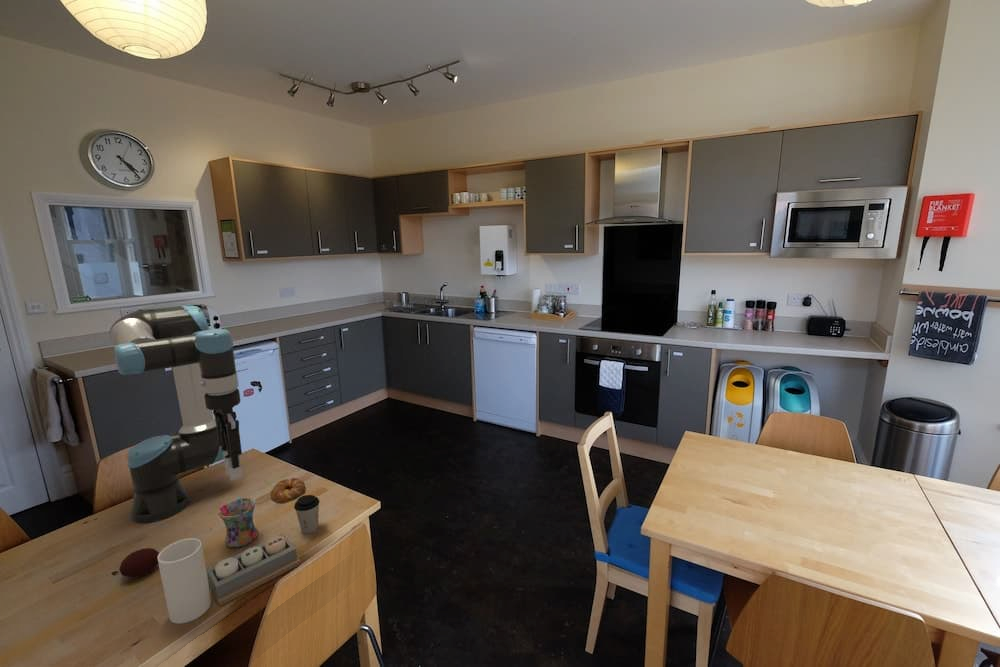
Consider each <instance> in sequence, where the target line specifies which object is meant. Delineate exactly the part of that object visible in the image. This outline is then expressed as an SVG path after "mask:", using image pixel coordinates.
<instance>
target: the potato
mask: <svg viewBox="0 0 1000 667" xmlns="http://www.w3.org/2000/svg"><path fill="white" fill-rule="evenodd" d="M159 553H160V552H159V551H158V550H156V549H155V548H152V547H151V548H150V547H147V548H146V547H145V548H140V549H137V550H134V551H132V552H131V553H129V554H128V555H127V556H125V557H124V559H122V561H121V563H120V565H119V573H120V574H121V576H123V577H125V578H129V579H131V578H139V577H140V576H144V575H146V574H148V573H149V572H151V571H152V570H154V569H155V568H156V567H157V566H159V563H158V555H159Z"/></svg>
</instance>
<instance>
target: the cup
mask: <svg viewBox="0 0 1000 667" xmlns="http://www.w3.org/2000/svg"><path fill="white" fill-rule="evenodd" d="M205 562H206V561H205V556H204V551H203V545H202V541H201V540H200V539H198V538H195V537H191V538H184V539H180V540H177V541H175V542H173V543H170V544H168V545H167V546H166V547H164V548H163V549H162V550H161V551H160V552H159V555H158V567H159V572H160V580H161V583H162V584H161V585H162V588H163V594H164V597H165V598H164V599H165V604H166V608H167V614H168V618H169V621H170V622H171V623H173V624H176V625H179V624H180V625H182V624H186V623H189V622H192V621H194V620H196V619H198V618H199V617H201V616H202V615H204V614H205V613H206V612H207V611H208V610H209V608H210V607H211V605H212V597H211V595H212V594H211V588H210V586H209V584H208V578H207V569H206V568H207V566H206V563H205Z"/></svg>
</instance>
